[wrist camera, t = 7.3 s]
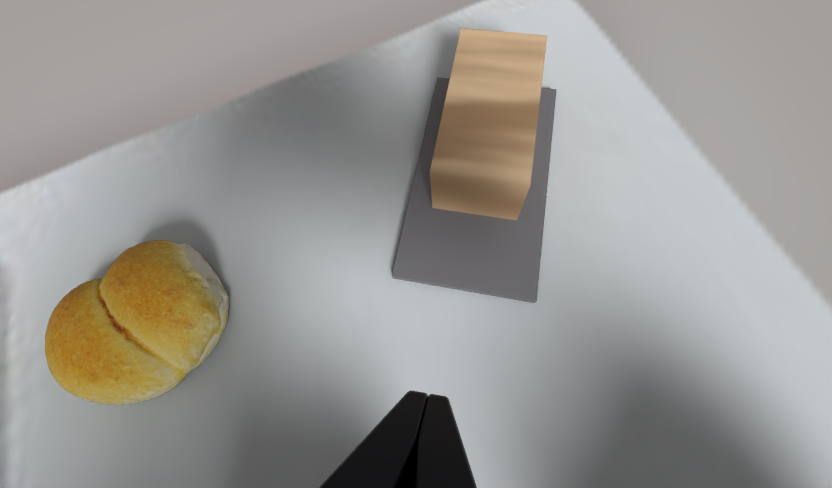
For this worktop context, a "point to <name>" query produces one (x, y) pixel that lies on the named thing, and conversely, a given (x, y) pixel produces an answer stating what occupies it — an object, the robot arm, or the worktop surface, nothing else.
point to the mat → (476, 225)
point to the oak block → (489, 124)
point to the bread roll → (137, 325)
